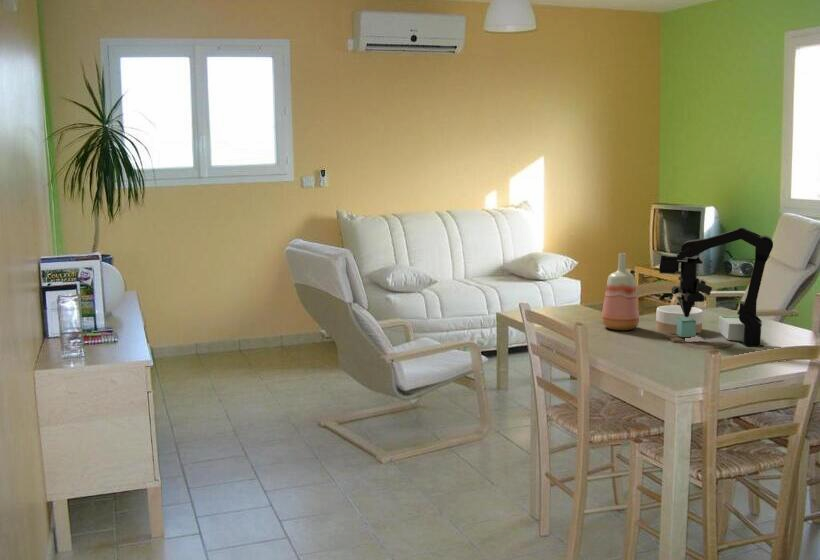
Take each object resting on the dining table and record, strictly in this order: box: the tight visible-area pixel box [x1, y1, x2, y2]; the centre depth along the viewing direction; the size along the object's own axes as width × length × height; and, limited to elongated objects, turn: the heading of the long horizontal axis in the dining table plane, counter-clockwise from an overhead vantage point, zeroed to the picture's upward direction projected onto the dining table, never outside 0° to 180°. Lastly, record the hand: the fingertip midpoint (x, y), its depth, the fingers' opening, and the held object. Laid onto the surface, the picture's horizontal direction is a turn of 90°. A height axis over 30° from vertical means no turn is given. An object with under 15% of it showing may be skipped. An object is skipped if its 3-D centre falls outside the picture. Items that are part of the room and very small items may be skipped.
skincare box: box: [717, 315, 745, 342], centre depth 332 cm, size 8×7×16 cm
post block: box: [665, 334, 706, 343], centre depth 327 cm, size 9×12×7 cm
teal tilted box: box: [676, 318, 696, 337], centre depth 327 cm, size 5×5×6 cm
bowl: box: [655, 304, 704, 335], centre depth 344 cm, size 17×17×8 cm
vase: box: [600, 252, 640, 331], centre depth 345 cm, size 14×14×30 cm
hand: (686, 316), depth 326 cm, fingers closed
